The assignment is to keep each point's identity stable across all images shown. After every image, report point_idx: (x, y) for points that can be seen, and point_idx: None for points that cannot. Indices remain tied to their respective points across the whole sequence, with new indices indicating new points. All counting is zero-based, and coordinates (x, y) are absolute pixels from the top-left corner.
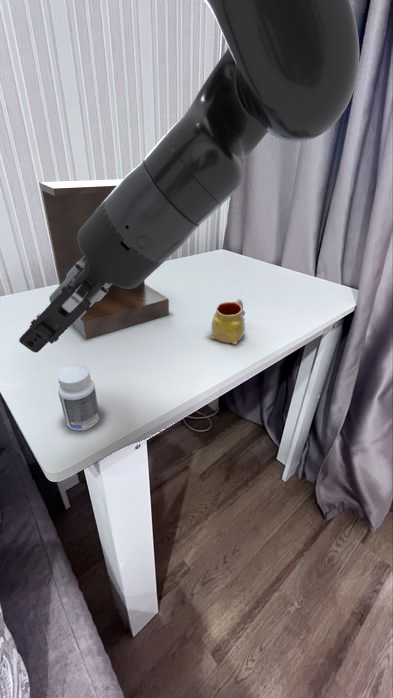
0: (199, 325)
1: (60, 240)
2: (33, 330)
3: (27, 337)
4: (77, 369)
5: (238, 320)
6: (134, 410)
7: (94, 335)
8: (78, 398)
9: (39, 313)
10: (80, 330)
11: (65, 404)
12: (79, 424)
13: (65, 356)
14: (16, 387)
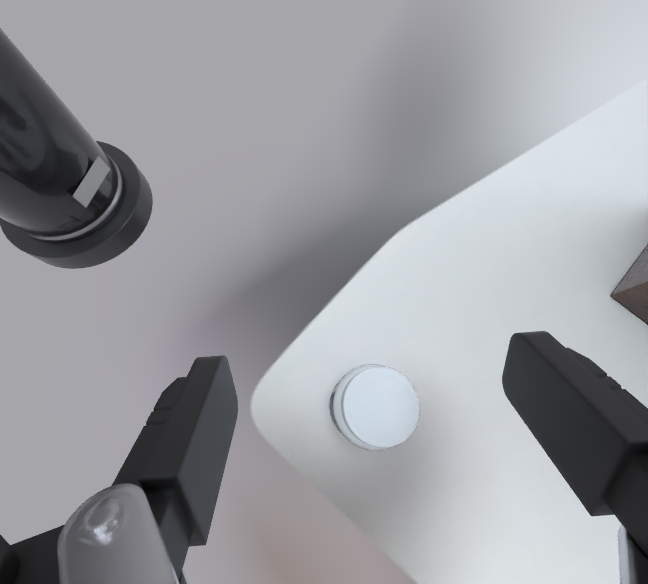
0: None
1: None
2: (123, 464)
3: (148, 419)
4: (399, 408)
5: None
6: (410, 510)
7: (633, 309)
8: (339, 427)
9: (99, 531)
10: (634, 270)
11: (334, 393)
12: (331, 416)
13: (531, 281)
14: (411, 242)
